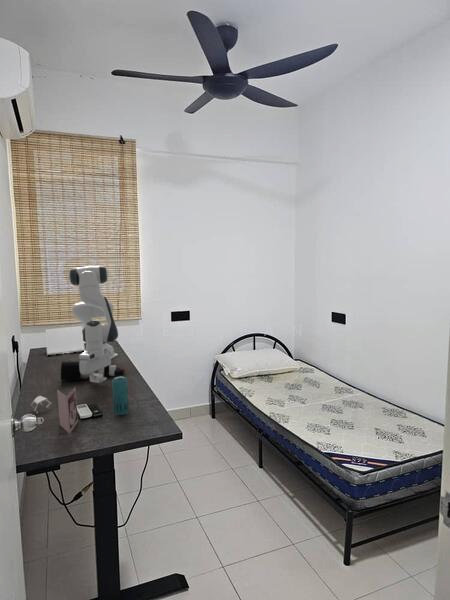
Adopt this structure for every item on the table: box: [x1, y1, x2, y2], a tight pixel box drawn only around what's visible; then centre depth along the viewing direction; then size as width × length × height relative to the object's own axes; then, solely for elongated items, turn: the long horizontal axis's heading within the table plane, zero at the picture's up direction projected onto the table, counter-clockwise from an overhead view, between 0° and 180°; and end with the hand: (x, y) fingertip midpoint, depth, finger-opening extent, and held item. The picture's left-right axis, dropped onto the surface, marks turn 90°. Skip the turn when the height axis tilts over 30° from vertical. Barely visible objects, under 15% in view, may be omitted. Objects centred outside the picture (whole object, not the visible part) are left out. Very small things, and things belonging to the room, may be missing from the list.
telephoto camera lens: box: [60, 360, 126, 381], centre depth 226 cm, size 10×34×10 cm, turn 104°
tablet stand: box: [45, 325, 86, 357], centre depth 290 cm, size 18×25×17 cm
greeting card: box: [56, 386, 79, 434], centre depth 160 cm, size 11×7×15 cm, turn 5°
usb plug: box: [89, 373, 108, 384], centre depth 212 cm, size 10×4×4 cm, turn 66°
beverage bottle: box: [111, 368, 130, 416], centre depth 170 cm, size 6×7×20 cm
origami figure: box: [30, 395, 53, 414], centre depth 182 cm, size 12×8×5 cm
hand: (97, 377), depth 212 cm, fingers closed on usb plug, 4 cm apart
